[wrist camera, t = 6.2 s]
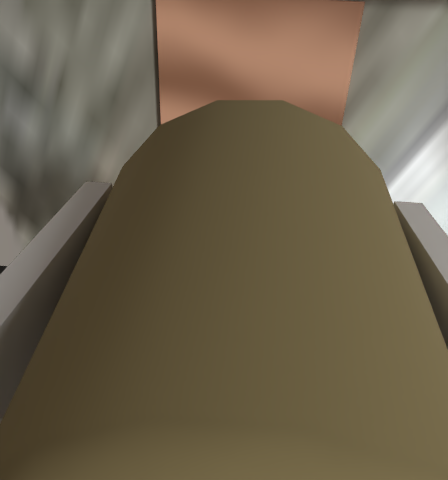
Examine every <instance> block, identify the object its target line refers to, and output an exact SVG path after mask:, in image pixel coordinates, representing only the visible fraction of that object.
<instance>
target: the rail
mask: <svg viewBox="0 0 448 480" xmlns="http://www.w3.org/2000/svg"><path fill="white" fill-rule="evenodd" d="M364 4H365V2H359V1H338V0H156V15H157V40H158V64H159V89H160V114H161V124H163V123H165V122H168V121H170V120H172V119H175V118H177V117H179V116H182V115H184V114H186V113H189V112H191V111H193V110H195V109H198V108H200V107H202V106H205V105H207V104H209V103H212V102H214V101H216V100H283V101H286V102H288V103H290V104H293V105H295V106H297V107H300V108H302V109H304V110H306V111H309V112H311V113H313V114H316V115H318V116H320V117H322V118H325V119H327V120H329V121H332V122H334V123H336V124H338V125H341V126H342V120H343V115H344V110H345V105H346V99H347V94H348V89H349V83H350V78H351V73H352V68H353V62H354V57H355V52H356V46H357V41H358V36H359V31H360V25H361V20H362V15H363V9H364Z"/></svg>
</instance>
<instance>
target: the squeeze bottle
mask: <svg viewBox="0 0 448 480" xmlns="http://www.w3.org/2000/svg"><path fill="white" fill-rule="evenodd" d="M0 480H448V349H447V347H446V344H445V341H444V338H443V336H442V333H441V330H440V328H439V325H438V322H437V320H436V317H435V314H434V312H433V309H432V306H431V304H430V301H429V298H428V296H427V293H426V290H425V288H424V285H423V282H422V280H421V277H420V274H419V272H418V269H417V266H416V264H415V261H414V258H413V256H412V253H411V250H410V248H409V245H408V242H407V240H406V237H405V234H404V232H403V229H402V226H401V224H400V221H399V218H398V216H397V213H396V210H395V208H394V205H393V202H392V200H391V197H390V194H389V192H388V189H387V186H386V184H385V181H384V178H383V176H382V173H381V170H380V169H379V168H378V167H377V165H376V164H375V163H374V162H373V161H372V160H371V159H370V158H369V156H368V155H367V154H366V153H365V152H364V151H363V150H362V148H361V147H360V146H359V145H358V144H357V143H356V142H355V140H354V139H353V138H352V137H351V136H350V135H349V134H348V133H347V131H346V130H345V129H344V128H343V127H342V126H341V125H338V124H336V123H334V122H332V121H329V120H327V119H325V118H322V117H320V116H318V115H316V114H313V113H311V112H309V111H306V110H304V109H302V108H300V107H297V106H295V105H293V104H290V103H288V102H286V101H283V100H216V101H214V102H212V103H209V104H207V105H205V106H202V107H200V108H198V109H195V110H193V111H191V112H189V113H186V114H184V115H182V116H179V117H177V118H175V119H172V120H170V121H168V122H165V123H163V124H161V125H159V126H158V128H157V129H156V130H155V131H154V132H153V133H152V134H151V135H150V137H149V138H148V139H147V140H146V141H145V142H144V143H143V144H142V146H141V147H140V148H139V149H138V150H137V151H136V152H135V153H134V154H133V156H132V157H131V158H130V159H129V160H128V161H127V162H126V163H125V165H124V166H123V167H122V169H121V171H120V173H119V175H118V178H117V180H116V182H115V184H114V186H113V188H112V190H111V192H110V194H109V196H108V199H107V201H106V203H105V205H104V207H103V209H102V211H101V213H100V215H99V217H98V219H97V222H96V224H95V226H94V228H93V230H92V232H91V234H90V236H89V238H88V240H87V242H86V245H85V247H84V249H83V251H82V253H81V255H80V257H79V259H78V261H77V263H76V266H75V268H74V270H73V272H72V274H71V276H70V278H69V280H68V282H67V284H66V286H65V289H64V291H63V293H62V295H61V297H60V299H59V301H58V303H57V305H56V307H55V310H54V312H53V314H52V316H51V318H50V320H49V322H48V324H47V326H46V328H45V330H44V333H43V335H42V337H41V339H40V341H39V343H38V345H37V347H36V349H35V351H34V354H33V356H32V358H31V360H30V362H29V364H28V366H27V368H26V370H25V372H24V374H23V377H22V379H21V381H20V383H19V385H18V387H17V389H16V391H15V393H14V395H13V398H12V400H11V402H10V404H9V406H8V408H7V410H6V412H5V414H4V416H3V418H2V421H1V423H0Z"/></svg>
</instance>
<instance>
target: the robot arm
mask: <svg viewBox="0 0 448 480" xmlns="http://www.w3.org/2000/svg"><path fill="white" fill-rule="evenodd" d="M111 190H112V183H103V182H87V181H86V182H85V183H84V184H83V185H82V186H81V187H80V188H79V190H78V191H77V192H76V193H75V194H74V195H73V196H72V197H71V198H70V199H69V200H68V201H67V203H66V204H65V205H64V206H63V207H62V208H61V209H60V210H59V211H58V212H57V213H56V214H55V216H54V217H53V218H52V219H51V220H50V221H49V222H48V223H47V224H46V225H45V226H44V227H43V229H42V230H41V231H40V232H39V233H38V234H37V235H36V236H35V237H34V238H33V239H32V240H31V242H30V243H29V244H28V245H27V246H26V247H25V248H24V249H23V250H22V251H21V252H20V253H19V255H18V256H17V257H16V258H15V259H14V260H13V261H12V262H11V263H10V264H9V265H8V266H0V423H1V421H2V418H3V416H4V414H5V412H6V410H7V408H8V406H9V404H10V402H11V400H12V398H13V395H14V393H15V391H16V389H17V387H18V385H19V383H20V381H21V379H22V377H23V374H24V372H25V370H26V368H27V366H28V364H29V362H30V360H31V358H32V356H33V354H34V351H35V349H36V347H37V345H38V343H39V341H40V339H41V337H42V335H43V333H44V330H45V328H46V326H47V324H48V322H49V320H50V318H51V316H52V314H53V312H54V310H55V307H56V305H57V303H58V301H59V299H60V297H61V295H62V293H63V291H64V289H65V286H66V284H67V282H68V280H69V278H70V276H71V274H72V272H73V270H74V268H75V266H76V263H77V261H78V259H79V257H80V255H81V253H82V251H83V249H84V247H85V245H86V242H87V240H88V238H89V236H90V234H91V232H92V230H93V228H94V226H95V224H96V222H97V219H98V217H99V215H100V213H101V211H102V209H103V207H104V205H105V203H106V201H107V199H108V196H109V194H110V192H111ZM394 208H395V210H396V213H397V216H398V218H399V221H400V224H401V226H402V229H403V232H404V234H405V237H406V240H407V242H408V245H409V248H410V250H411V253H412V256H413V258H414V261H415V264H416V266H417V269H418V272H419V274H420V277H421V280H422V282H423V285H424V288H425V290H426V293H427V296H428V298H429V301H430V304H431V306H432V309H433V312H434V314H435V317H436V320H437V322H438V325H439V328H440V330H441V333H442V336H443V338H444V341H445V344H446V347H447V349H448V236H447V235H446V233H445V232H444V231H443V230H442V228H441V227H440V226H439V224H438V223H437V222H436V220H435V219H434V218H433V217H432V215H431V214H430V213H429V211H428V210H427V209H426V208H425V206H424V205H423V204H422V203H412V202H396V201H394Z"/></svg>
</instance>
